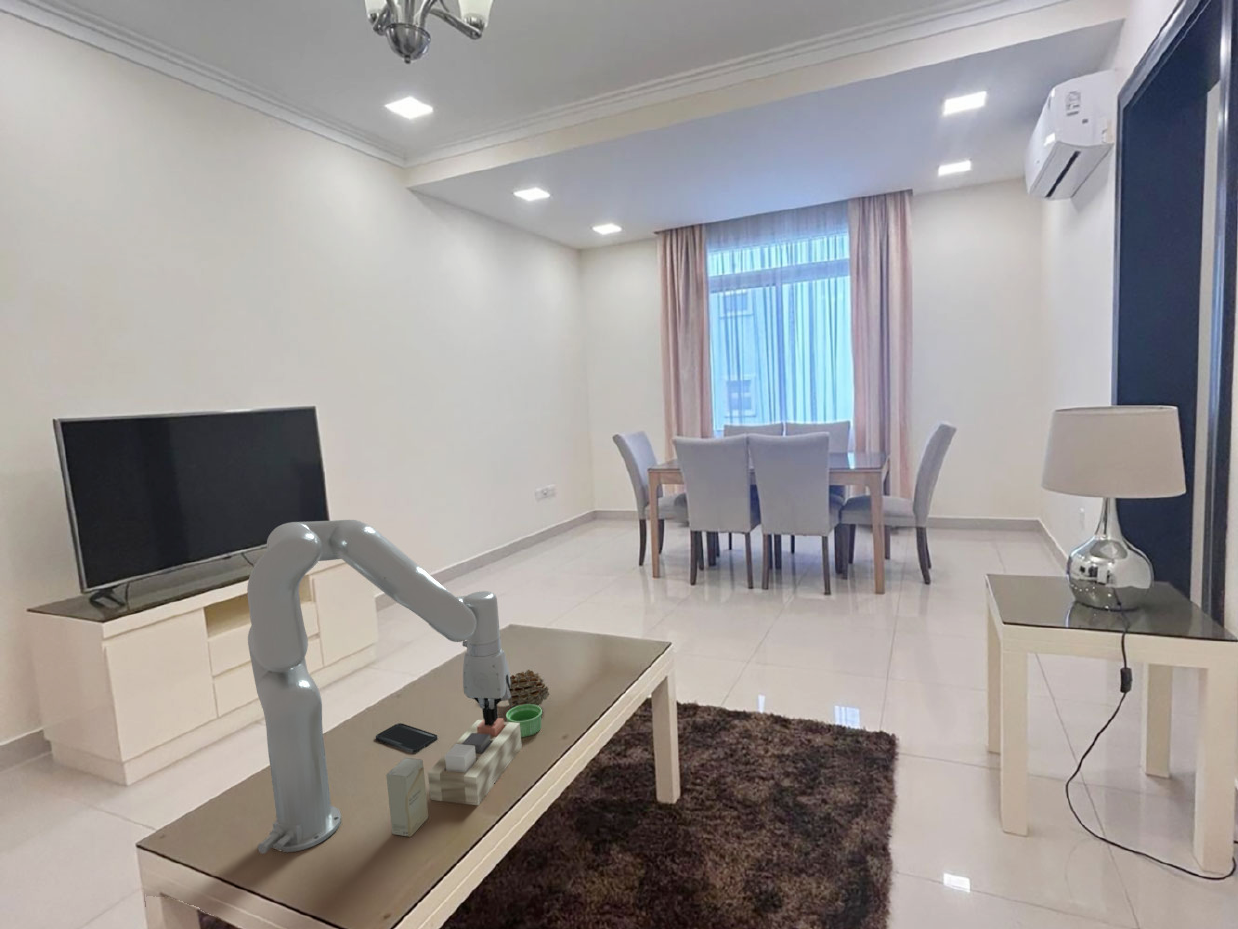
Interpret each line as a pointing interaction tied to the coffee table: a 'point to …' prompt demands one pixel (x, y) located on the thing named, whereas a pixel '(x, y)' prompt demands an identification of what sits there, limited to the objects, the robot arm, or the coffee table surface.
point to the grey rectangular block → (478, 742)
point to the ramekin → (526, 718)
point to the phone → (406, 738)
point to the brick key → (491, 727)
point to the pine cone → (527, 689)
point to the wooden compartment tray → (475, 768)
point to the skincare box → (407, 796)
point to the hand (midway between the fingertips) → (491, 722)
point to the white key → (460, 758)
